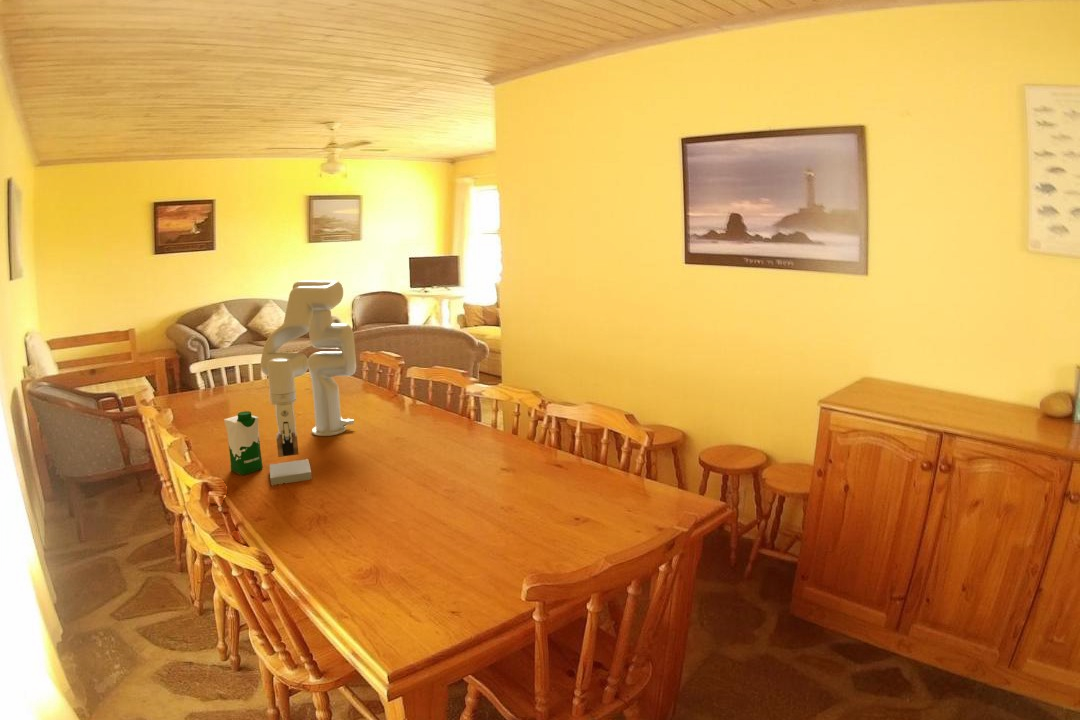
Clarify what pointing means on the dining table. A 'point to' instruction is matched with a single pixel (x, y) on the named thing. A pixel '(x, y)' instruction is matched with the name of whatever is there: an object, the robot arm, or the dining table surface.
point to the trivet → (290, 472)
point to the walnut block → (280, 441)
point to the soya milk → (244, 443)
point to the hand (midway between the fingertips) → (288, 450)
